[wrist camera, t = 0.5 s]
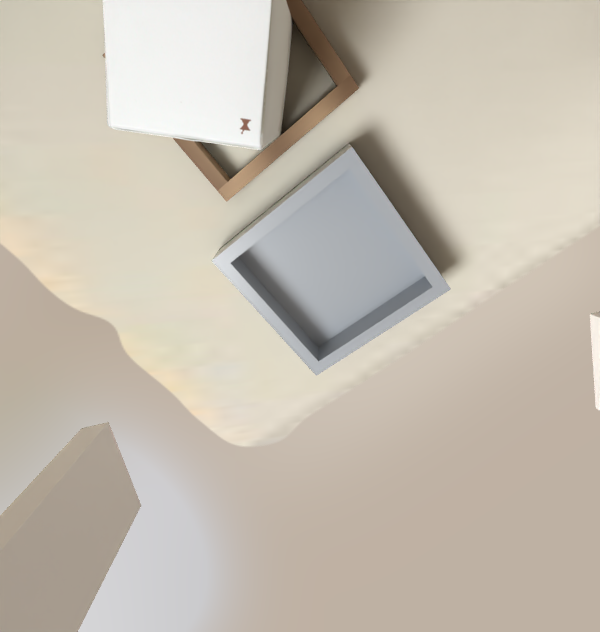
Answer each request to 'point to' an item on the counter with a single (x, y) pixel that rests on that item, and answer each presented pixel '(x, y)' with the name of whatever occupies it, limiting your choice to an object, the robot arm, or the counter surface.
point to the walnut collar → (297, 130)
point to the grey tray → (331, 263)
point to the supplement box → (198, 68)
